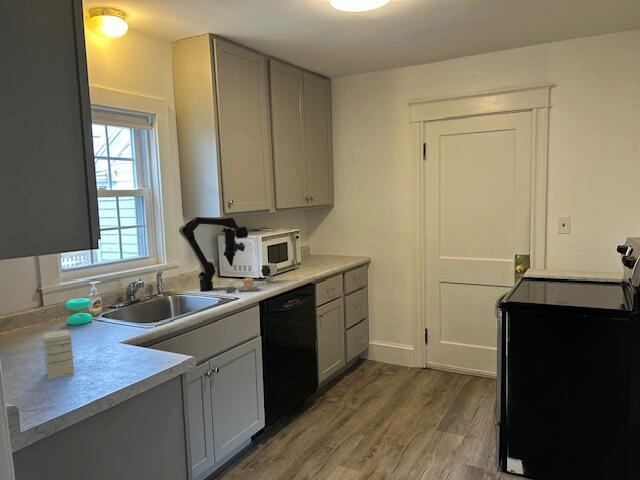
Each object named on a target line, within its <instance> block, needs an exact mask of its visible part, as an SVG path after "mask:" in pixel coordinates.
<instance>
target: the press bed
mask: <svg viewBox="0 0 640 480" xmlns="http://www.w3.org/2000/svg"><path fill="white" fill-rule="evenodd" d="M258 290H259V287H258V286H253V289H244V287H243V286H242V287H239V289H238V293H252V292H254V293H255V292H256V293H257V292H258Z"/></svg>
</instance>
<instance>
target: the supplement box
mask: <svg viewBox="0 0 640 480" xmlns="http://www.w3.org/2000/svg"><path fill="white" fill-rule="evenodd" d="M70 331H71V330H70V329H62V330H56V331H50V332H45V333H43V334H42V344H43V356H44V362H45V369H46V377H47V381H50V380H55V379H56V380H57V379H60V378H61V379H62V378H66V377H71V376H74V375H75V365H74V356H73V355H74V354H73V343H72V342H73V341H72V335H71V332H70Z"/></svg>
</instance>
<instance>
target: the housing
mask: <svg viewBox="0 0 640 480" xmlns="http://www.w3.org/2000/svg"><path fill="white" fill-rule="evenodd" d="M242 281H243V282H242V284H243V285H242V287H244V289H253V287H254V278H253V277H252V278H250V277H246V278H243V280H242Z"/></svg>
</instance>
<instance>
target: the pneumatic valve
mask: <svg viewBox="0 0 640 480" xmlns="http://www.w3.org/2000/svg"><path fill="white" fill-rule="evenodd" d="M260 272H261V274H262V277H265V281H266V283H267V284H268V283H270V284H272V283H274V282H275V281H274V275H276V274H278V266H277V263H274V262H271V263H270V262H268V263H266V264H262V265H261V270H260Z"/></svg>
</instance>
